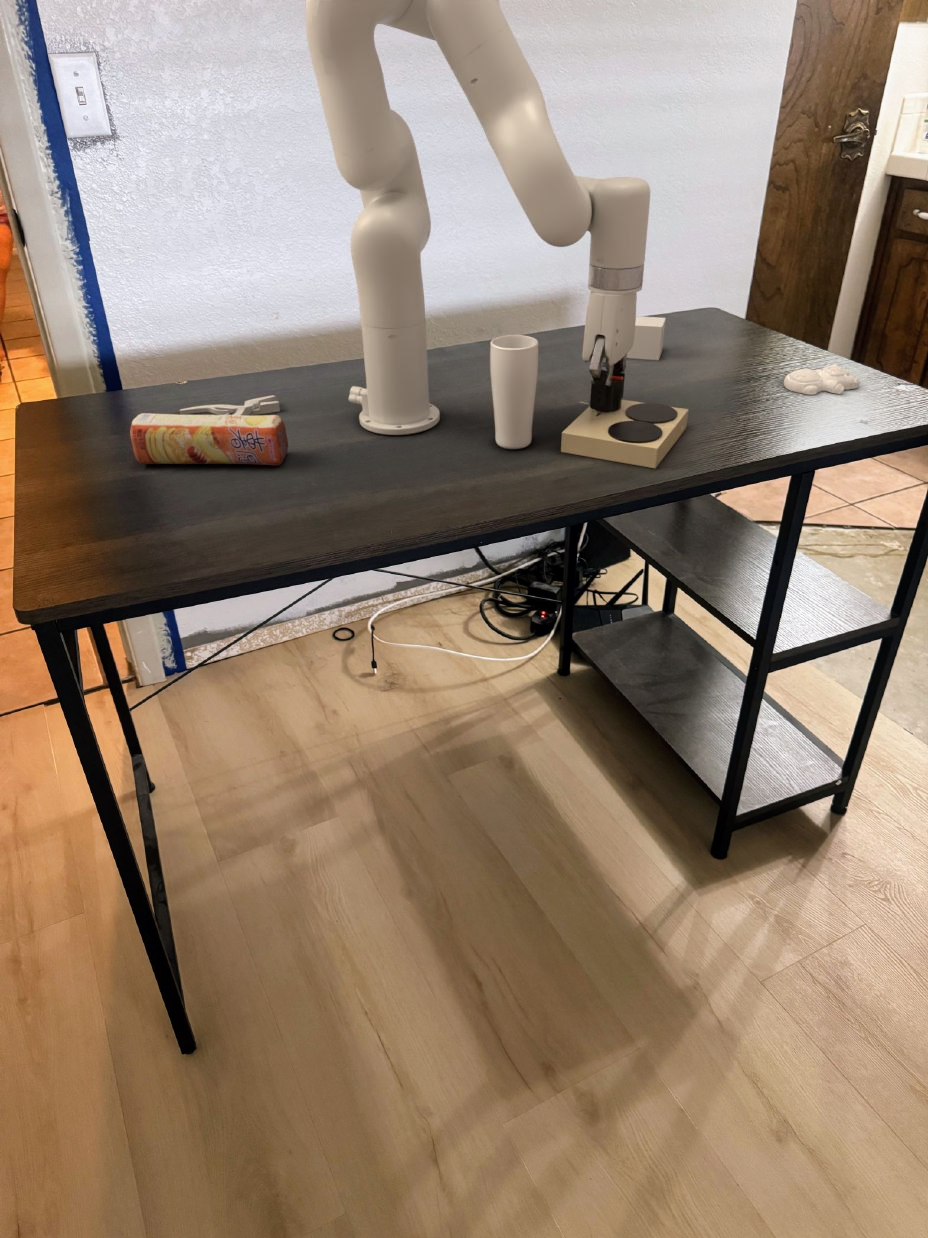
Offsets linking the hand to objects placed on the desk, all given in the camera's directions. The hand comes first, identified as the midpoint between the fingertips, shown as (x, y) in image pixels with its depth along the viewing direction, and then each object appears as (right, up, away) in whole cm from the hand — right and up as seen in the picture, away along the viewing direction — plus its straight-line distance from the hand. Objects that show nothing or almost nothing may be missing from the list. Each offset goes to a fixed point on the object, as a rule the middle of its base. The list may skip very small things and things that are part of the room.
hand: (606, 402), depth 132 cm
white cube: (+12, +16, +31) cm, 37 cm away
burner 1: (+6, -2, -2) cm, 7 cm away
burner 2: (+3, -6, -8) cm, 11 cm away
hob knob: (0, -1, 0) cm, 1 cm away
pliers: (-59, 0, +9) cm, 60 cm away
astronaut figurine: (+38, +6, +15) cm, 41 cm away
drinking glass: (-14, -7, -3) cm, 16 cm away
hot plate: (+2, -6, -2) cm, 7 cm away
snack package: (-58, -10, -5) cm, 59 cm away
